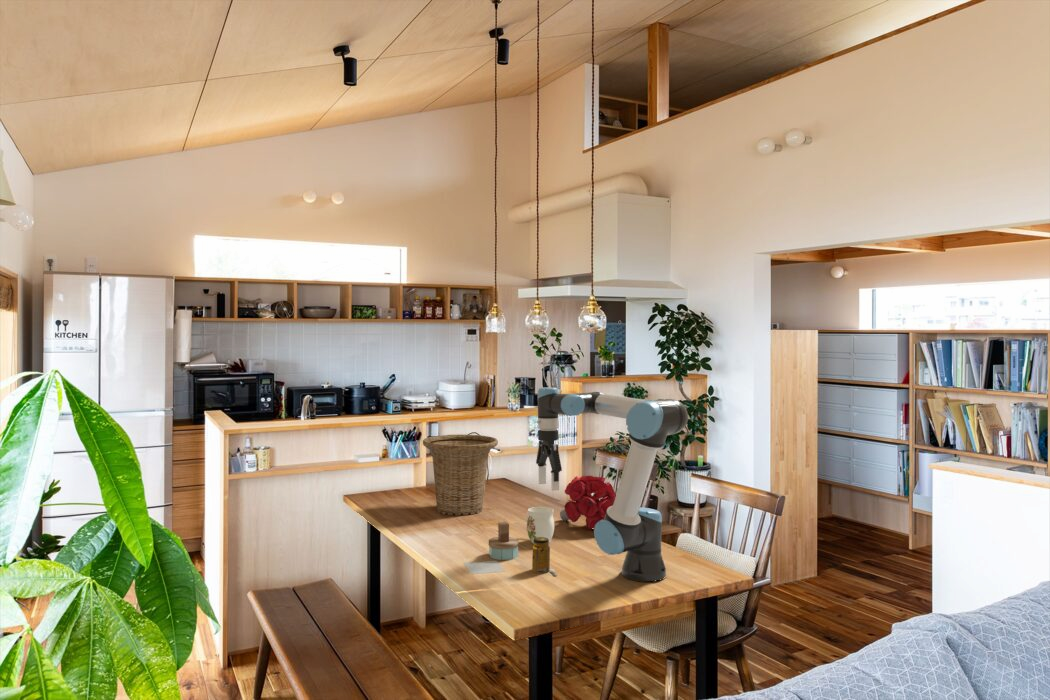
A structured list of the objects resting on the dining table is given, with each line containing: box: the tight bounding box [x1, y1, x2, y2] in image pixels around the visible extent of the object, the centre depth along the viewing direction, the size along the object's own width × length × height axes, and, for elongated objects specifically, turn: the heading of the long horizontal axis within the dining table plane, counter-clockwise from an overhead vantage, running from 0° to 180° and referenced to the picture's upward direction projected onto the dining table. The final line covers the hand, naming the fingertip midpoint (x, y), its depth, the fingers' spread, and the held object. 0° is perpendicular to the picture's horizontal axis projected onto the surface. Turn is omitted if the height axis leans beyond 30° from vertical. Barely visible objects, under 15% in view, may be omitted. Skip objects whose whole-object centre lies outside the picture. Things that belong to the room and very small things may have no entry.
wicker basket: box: [422, 434, 499, 516], centre depth 341 cm, size 35×35×33 cm
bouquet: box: [559, 475, 617, 530], centre depth 315 cm, size 22×24×30 cm
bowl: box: [488, 545, 519, 561], centre depth 270 cm, size 10×10×5 cm
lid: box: [488, 521, 519, 549], centre depth 270 cm, size 11×11×8 cm
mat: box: [463, 560, 506, 575], centre depth 257 cm, size 12×12×1 cm
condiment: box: [531, 537, 557, 576], centre depth 253 cm, size 7×8×12 cm
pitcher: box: [526, 506, 555, 545], centre depth 291 cm, size 11×18×14 cm, turn 31°
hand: (548, 487), depth 269 cm, fingers open, 13 cm apart
